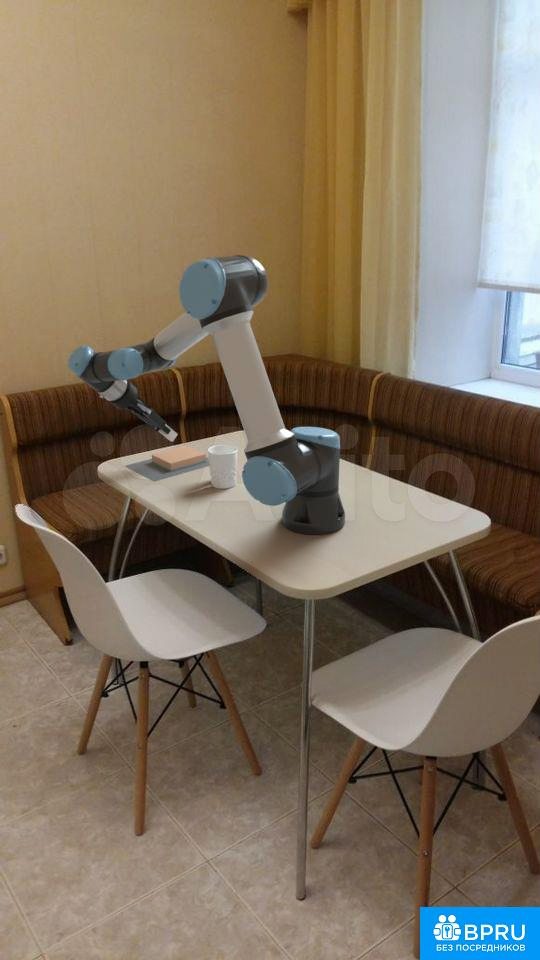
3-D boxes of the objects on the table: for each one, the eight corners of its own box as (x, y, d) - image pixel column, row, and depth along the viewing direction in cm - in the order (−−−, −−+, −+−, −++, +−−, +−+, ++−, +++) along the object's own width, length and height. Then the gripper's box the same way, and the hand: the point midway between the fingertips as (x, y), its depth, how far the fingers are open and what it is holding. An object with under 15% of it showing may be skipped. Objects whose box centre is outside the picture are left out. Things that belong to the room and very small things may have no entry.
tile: (170, 463, 211) (205, 454, 219) (151, 454, 218) (186, 445, 226) (171, 471, 212) (206, 462, 219) (152, 462, 219) (186, 453, 227)
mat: (154, 483, 206) (154, 481, 206) (124, 467, 217) (124, 465, 217) (219, 464, 219) (219, 462, 219) (187, 451, 230) (187, 449, 230)
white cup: (225, 492, 200) (224, 456, 196) (203, 485, 204) (201, 450, 201) (244, 483, 206) (243, 448, 202) (222, 477, 210) (221, 442, 206)
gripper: (97, 397, 204) (154, 442, 220) (122, 407, 194) (179, 454, 211) (113, 374, 205) (168, 421, 221) (138, 383, 196) (194, 431, 212)
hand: (173, 437), depth 216 cm, fingers closed
